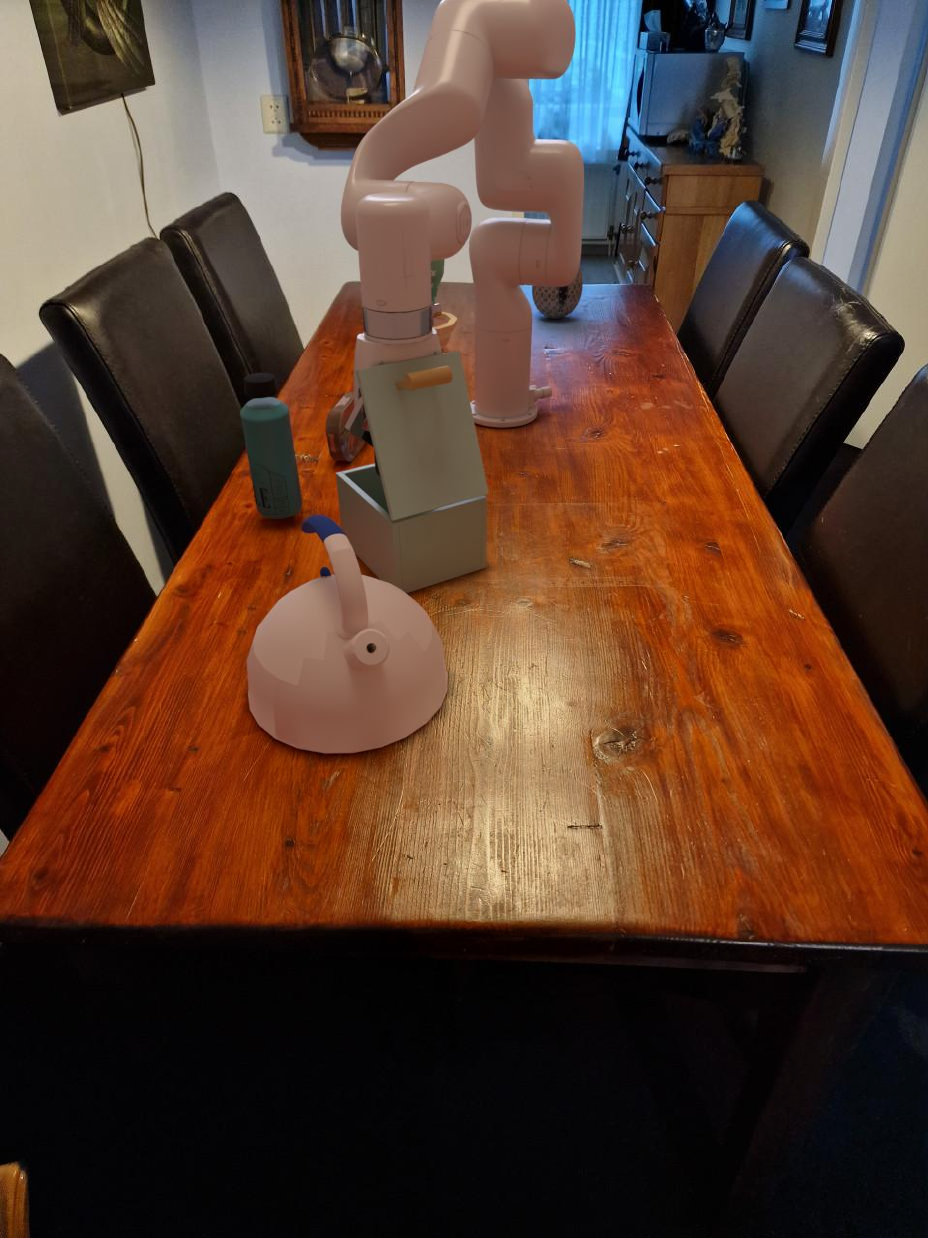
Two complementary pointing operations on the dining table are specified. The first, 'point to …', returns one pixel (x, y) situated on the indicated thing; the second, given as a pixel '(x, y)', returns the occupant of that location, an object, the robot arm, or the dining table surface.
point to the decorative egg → (558, 298)
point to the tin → (343, 431)
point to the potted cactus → (445, 320)
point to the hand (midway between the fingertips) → (405, 473)
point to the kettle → (344, 659)
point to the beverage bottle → (270, 449)
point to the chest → (410, 534)
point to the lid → (423, 433)
